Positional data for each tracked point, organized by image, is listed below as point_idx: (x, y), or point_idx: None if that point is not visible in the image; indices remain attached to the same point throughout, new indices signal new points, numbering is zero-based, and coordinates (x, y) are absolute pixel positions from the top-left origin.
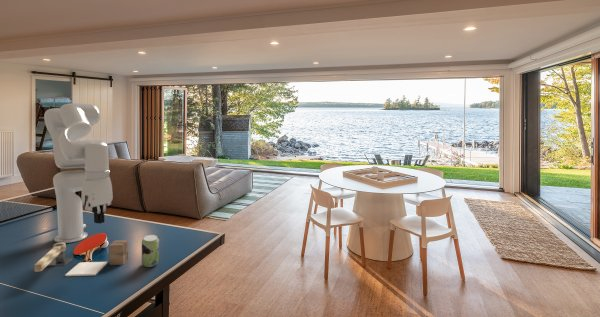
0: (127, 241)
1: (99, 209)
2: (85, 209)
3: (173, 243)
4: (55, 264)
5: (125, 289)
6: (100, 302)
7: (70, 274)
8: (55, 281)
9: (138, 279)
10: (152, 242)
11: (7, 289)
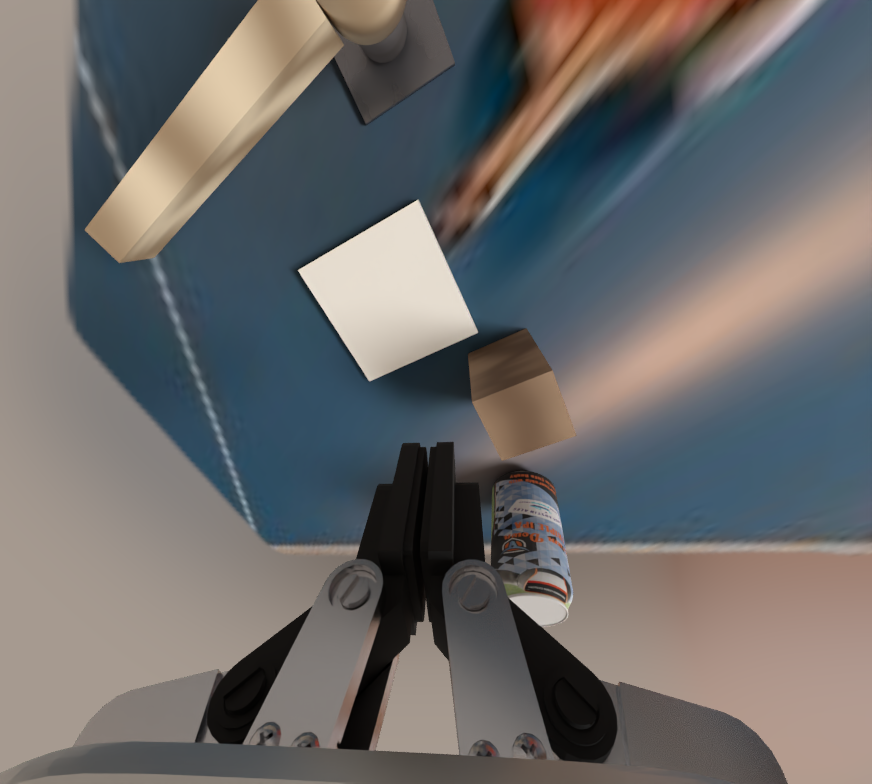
0: (569, 434)
1: (372, 710)
2: (91, 732)
3: (770, 440)
4: (340, 55)
5: (355, 518)
6: (277, 509)
7: (312, 291)
8: (253, 275)
9: None
10: None
11: (79, 133)
